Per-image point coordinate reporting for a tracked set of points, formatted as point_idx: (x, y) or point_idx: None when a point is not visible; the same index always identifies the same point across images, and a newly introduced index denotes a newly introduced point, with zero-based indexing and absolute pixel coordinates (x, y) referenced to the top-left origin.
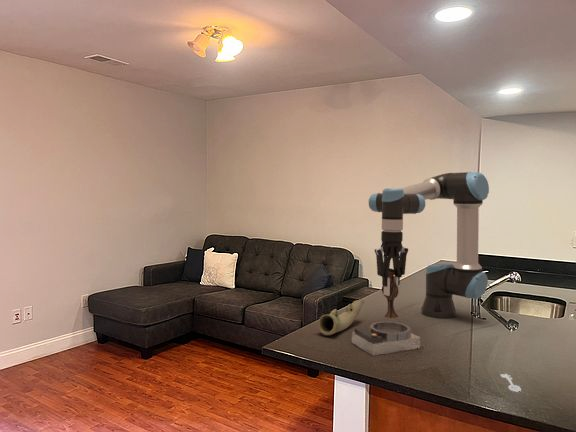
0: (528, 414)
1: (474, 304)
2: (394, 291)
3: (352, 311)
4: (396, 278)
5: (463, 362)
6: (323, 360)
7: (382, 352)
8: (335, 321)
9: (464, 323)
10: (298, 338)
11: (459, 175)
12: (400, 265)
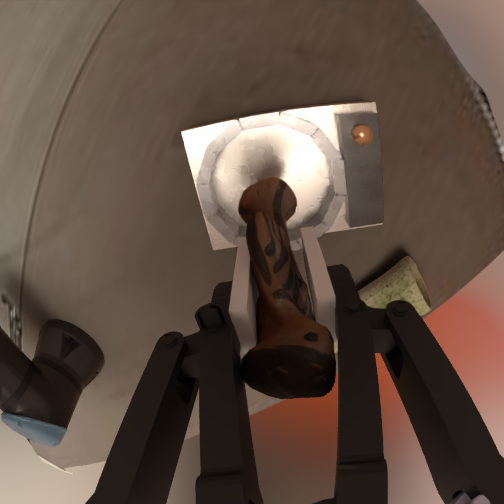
0: None
1: None
2: (272, 233)
3: None
4: (247, 303)
5: (123, 20)
6: (478, 119)
7: (331, 103)
8: (413, 276)
9: (33, 285)
10: (463, 264)
11: None
12: (177, 415)
